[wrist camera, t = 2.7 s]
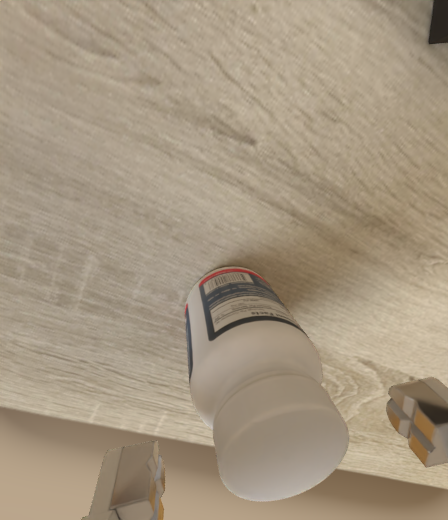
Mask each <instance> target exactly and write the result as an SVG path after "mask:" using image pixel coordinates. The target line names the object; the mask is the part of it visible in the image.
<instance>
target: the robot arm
mask: <svg viewBox="0 0 448 520" xmlns="http://www.w3.org/2000/svg"><path fill="white" fill-rule="evenodd" d="M388 394H389V395H390V397H391V399H390V400H389V401H388V403H387V407H386V412H387V415H388V418H389V420H390V422H391V424H392V425H393V427H394V428H395V429H396V431H397V432H398V433H399V434H401V435H402V436H404V437H406V438H408V443H409V447H410V448H411V449H412V451H413V452H414V453H415V454H416V456H417V457H418V458H419V459H420V461H421V462H422V463H423V464H424V466H425V467H430V466H435V465H439V464H444V463H448V388H447V387H446V386H445V385H444V384H443V383H441V382H440V381H439V380H438V379H436V378H434V377H428V378H424V379H420V380H414V381H410V382H406V383H402V384H398V385H394V386H391V387H390V388H389V393H388ZM164 491H165V468H164V462H163V458H162V456H161V455H159V445H158V442H157V440H155V441H150V442H145V443H140V444H135V445H131V446H126V447H121V448H116V449H112V450H108V451H107V452H106V454H105V456H104V459H103V462H102V466H101V470H100V474H99V478H98V481H97V485H96V490H95V493H94V497H93V501H92V505H91V509H90V512H89V516H85V517H83V518H82V519H81V520H163V513H164V508H163V505H162V502H161V499H160V498H161V497H162V495H163V493H164Z"/></svg>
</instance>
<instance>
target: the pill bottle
mask: <svg viewBox="0 0 448 520" xmlns="http://www.w3.org/2000/svg"><path fill="white" fill-rule="evenodd" d="M185 324H186V339H187V352H188V368H189V383H190V392H191V397H192V401H193V405H194V407H195V410H196V412H197V414H198V415H199V417H200V418H201V419H202V421H203V422H204V423H205V424H206V425H207V426H208V427H209V428H211V429H212V430H213V439H214V444H215V451H216V457H217V462H218V468H219V474H220V476H221V479H222V481H223V483H224V485H225V486H226V488H227V489H228V490H230V491H231V492H232V493H233V494H235V495H236V496H238V497H241V498H244V499H247V500H251V501H275V500H281V499H286V498H289V497H292V496H295V495H298V494H300V493H302V492H305V491H307V490H309V489H310V488H312V487H314V486H316V485H317V484H319V483H320V482H322V481H323V480H324V479H325V478H327V477H328V476H329V475H330V474H331V473H332V472H333V471H334V470H335V469H336V467H337V466H338V465H339V464H340V462H341V461H342V459H343V457H344V455H345V453H346V451H347V448H348V443H349V432H348V428H347V425H346V423H345V421H344V419H343V417H342V416H341V414H340V413H339V411H338V409H337V408H336V406H335V405H334V403H333V401H332V400H331V398H330V396H329V394H328V392H327V391H326V390H325V389H324V387H322V386H321V383H322V375H323V374H322V364H321V360H320V357H319V354H318V352H317V350H316V348H315V346H314V345H313V343H312V342H311V340H310V339H309V337H308V336H307V335H306V333H305V332H304V331H303V329H302V328H301V327H300V325H299V324H298V323H297V322H296V320H295V319H294V318H293V316H292V315H291V314H290V312H289V311H288V310H287V308H286V307H285V306H284V304H283V303H282V302H281V301H280V299H279V298H278V297H277V295H276V294H275V293H274V291H273V290H272V288H271V287H270V286H269V284H268V283H267V282H266V281H265V280H264V279H263V278H262V277H261V276H260V275H259V274H257V273H256V272H254V271H252V270H250V269H247V268H243V267H236V266H231V267H223V268H219V269H216V270H214V271H211V272H210V273H208V274H206V275H205V276H203V277H202V278H201V279H200V280H199V281H198V282H197V283H196V284H195V285H194V287H193V288H192V289H191V291H190V293H189V295H188V298H187V301H186V305H185Z"/></svg>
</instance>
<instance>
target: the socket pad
mask: <svg viewBox="0 0 448 520" xmlns="http://www.w3.org/2000/svg"><path fill="white" fill-rule="evenodd" d="M446 42H448V0H435V2H434V9H433V16H432V24H431V31H430V38H429V44H435V43H446Z"/></svg>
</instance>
